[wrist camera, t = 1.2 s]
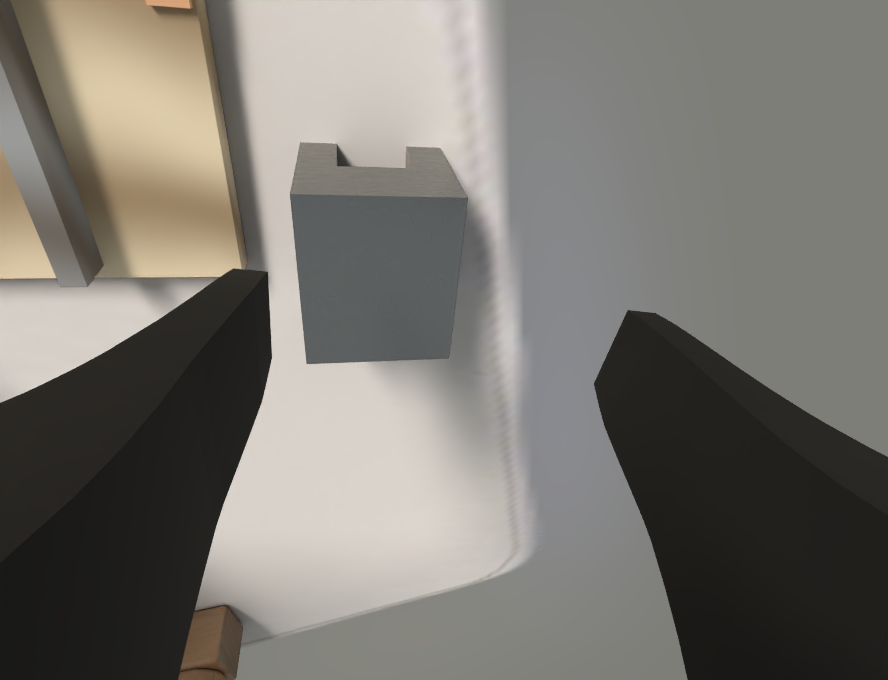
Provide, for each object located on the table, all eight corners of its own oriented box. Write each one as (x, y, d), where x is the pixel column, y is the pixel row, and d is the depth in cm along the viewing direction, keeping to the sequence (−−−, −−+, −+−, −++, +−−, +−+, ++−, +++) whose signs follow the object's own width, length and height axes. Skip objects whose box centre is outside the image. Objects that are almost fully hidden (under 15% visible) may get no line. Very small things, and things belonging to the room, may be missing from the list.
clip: (429, 287, 22) (448, 358, 18) (312, 289, 21) (306, 363, 17) (439, 147, 19) (467, 197, 15) (300, 142, 18) (290, 193, 14)
